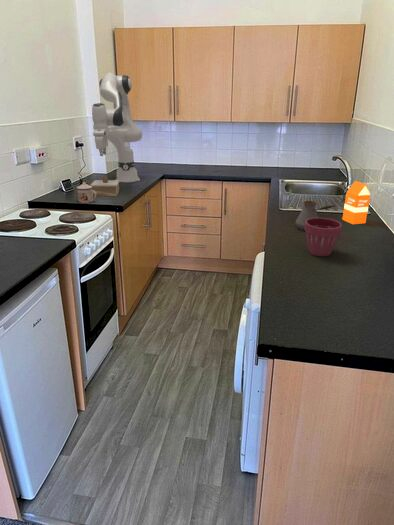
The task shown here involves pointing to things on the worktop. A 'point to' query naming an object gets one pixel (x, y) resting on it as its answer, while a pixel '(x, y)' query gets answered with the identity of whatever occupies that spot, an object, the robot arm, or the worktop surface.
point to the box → (106, 190)
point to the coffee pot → (308, 213)
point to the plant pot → (322, 235)
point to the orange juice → (356, 203)
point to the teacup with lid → (85, 193)
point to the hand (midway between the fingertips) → (103, 155)
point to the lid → (105, 182)
